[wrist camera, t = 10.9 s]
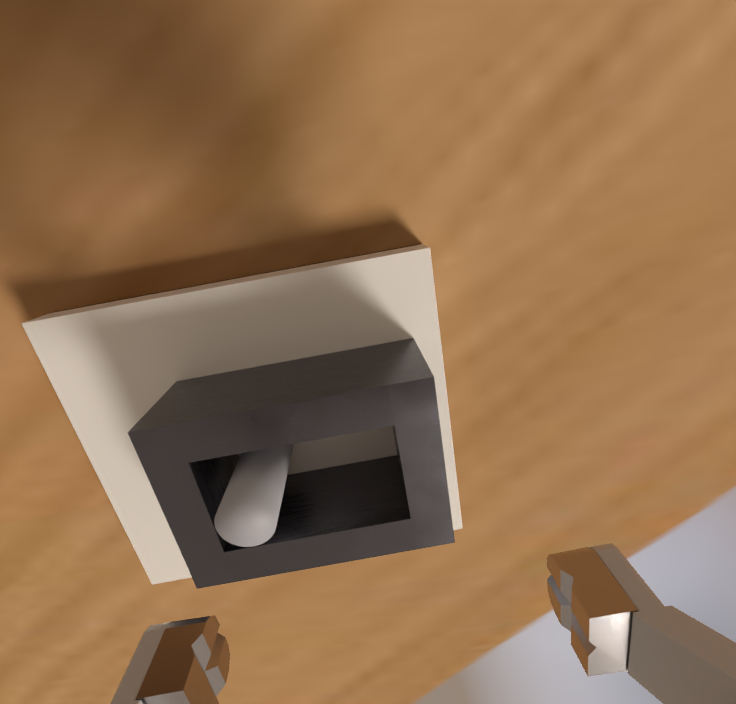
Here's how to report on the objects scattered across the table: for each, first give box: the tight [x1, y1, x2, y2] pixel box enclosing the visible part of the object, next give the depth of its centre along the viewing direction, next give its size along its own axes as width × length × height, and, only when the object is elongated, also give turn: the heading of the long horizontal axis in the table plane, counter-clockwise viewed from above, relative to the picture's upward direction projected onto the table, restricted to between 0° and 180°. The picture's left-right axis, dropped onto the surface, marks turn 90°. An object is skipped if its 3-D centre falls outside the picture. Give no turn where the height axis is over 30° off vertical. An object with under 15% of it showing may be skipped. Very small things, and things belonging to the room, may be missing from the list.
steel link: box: [128, 338, 455, 588], centre depth 16 cm, size 10×7×4 cm
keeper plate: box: [22, 244, 463, 584], centre depth 16 cm, size 16×14×6 cm
